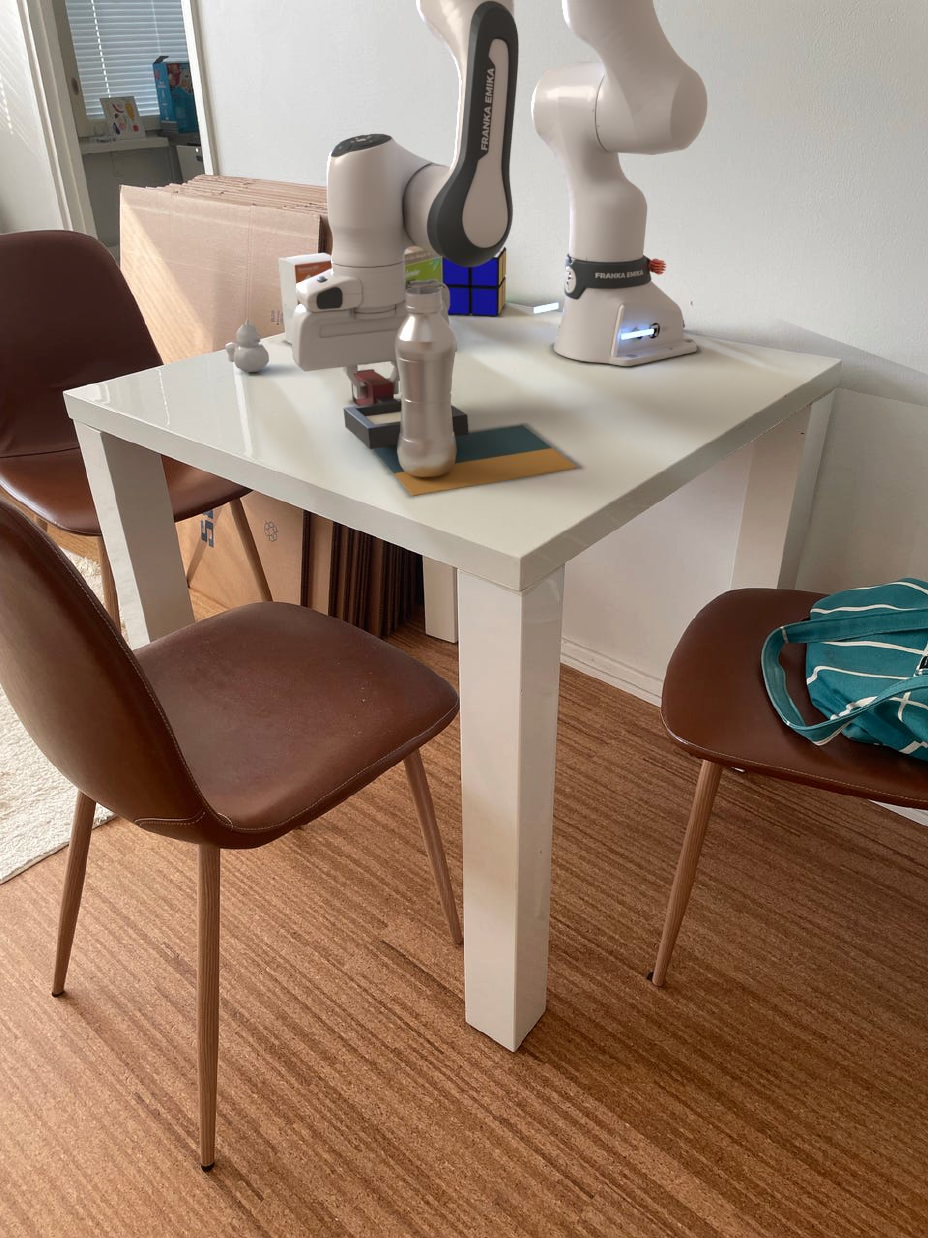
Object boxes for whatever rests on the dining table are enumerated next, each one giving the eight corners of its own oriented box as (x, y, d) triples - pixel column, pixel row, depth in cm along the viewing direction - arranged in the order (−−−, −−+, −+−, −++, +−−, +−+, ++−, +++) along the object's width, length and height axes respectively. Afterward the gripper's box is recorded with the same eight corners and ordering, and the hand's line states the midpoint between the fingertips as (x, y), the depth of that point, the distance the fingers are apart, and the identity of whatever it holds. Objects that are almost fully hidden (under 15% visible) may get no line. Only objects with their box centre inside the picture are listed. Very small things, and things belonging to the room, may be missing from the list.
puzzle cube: (442, 314, 166) (441, 255, 161) (452, 301, 174) (451, 244, 169) (498, 316, 164) (499, 257, 159) (505, 303, 173) (506, 246, 167)
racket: (321, 405, 125) (317, 375, 124) (405, 394, 129) (403, 365, 127) (369, 449, 105) (366, 414, 104) (468, 434, 109) (467, 400, 107)
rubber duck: (261, 377, 136) (254, 321, 132) (220, 374, 137) (212, 318, 133) (277, 366, 140) (271, 312, 136) (237, 363, 142) (230, 309, 138)
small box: (302, 350, 147) (293, 264, 140) (285, 341, 152) (276, 257, 145) (347, 342, 151) (341, 258, 144) (330, 333, 156) (323, 251, 149)
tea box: (336, 335, 155) (329, 241, 147) (379, 323, 161) (375, 232, 153) (401, 352, 146) (397, 253, 138) (444, 338, 153) (443, 243, 145)
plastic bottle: (397, 462, 108) (389, 284, 98) (455, 460, 109) (453, 282, 98) (398, 485, 103) (389, 298, 92) (459, 483, 103) (458, 297, 93)
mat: (522, 428, 119) (522, 424, 119) (577, 471, 107) (577, 467, 107) (372, 451, 113) (372, 447, 112) (413, 499, 101) (412, 495, 101)
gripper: (440, 272, 119) (442, 378, 127) (282, 286, 113) (294, 397, 120) (458, 282, 114) (459, 392, 122) (293, 298, 108) (305, 413, 115)
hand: (376, 395), depth 121 cm, fingers closed on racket, 3 cm apart
